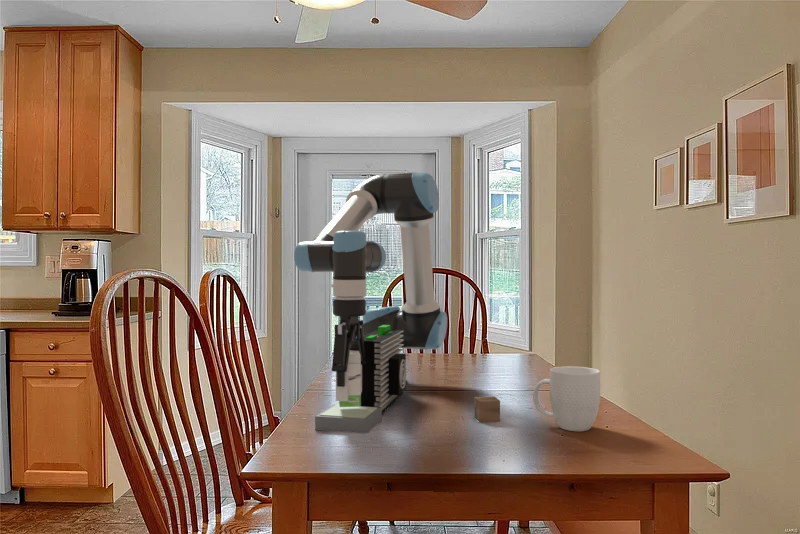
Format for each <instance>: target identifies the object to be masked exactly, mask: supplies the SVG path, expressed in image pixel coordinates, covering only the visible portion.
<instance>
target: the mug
mask: <svg viewBox="0 0 800 534" xmlns="http://www.w3.org/2000/svg"><path fill="white" fill-rule="evenodd" d="M544 384H545V385H548V386H549V398H550V400H549V401H550V406H551V411H547V410H546V409H544V408H543V407H541V405H540V403H539V399H538V394H539V390H540V388H541V386H542V385H544ZM532 393H533V394H532V398H533V400H532V401H533V403H534V406H535V408H536V409H537V411H538V412H539V413H540V414H542V415H544V416H545V417H546V416H547V417H549V418H553V419H555V422H556V424H557V426H558V427H559V428H560V429H562V430H564V431H569V432H586V431H589V430H590V429H591V428H592V426H593V425H594V424H595V422H596V419H597V415H598V413H599V407H600V402H601V371H600V370H599V369H597V368H591V367H586V366H577V365H576V366H574V365H573V366H572V365H571V366H570V365H567V366H565V365H563V366H554V367H551V368H550V369H549V378H544V379H541V380H540V381H538V382H537V384H536V385H535V386H534V389H533V392H532Z"/></svg>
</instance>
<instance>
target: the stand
mask: <svg viewBox="0 0 800 534" xmlns="http://www.w3.org/2000/svg"><path fill="white" fill-rule="evenodd" d="M382 415H383V414H382V408H379V407H362V406H360V407H340V405H339V404H333V405H331V406H329V407H328V408H326V409H324V410H322V412H319V413H318V414H317V415H315V416H314V422H315V423H314V428H315V429H314V430H315V431H329V432H342V433H356V434H357V433H358V434H368V433H369V432H370V431H371V430H373V428H375V427H376V426H377V425H379V423H381V421H382V418H383V417H382Z"/></svg>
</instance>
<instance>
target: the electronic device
mask: <svg viewBox="0 0 800 534" xmlns="http://www.w3.org/2000/svg"><path fill="white" fill-rule="evenodd" d="M402 332H403V330H396V331H390V325H382V326H379V327H378V331H373V332H371V333H369V334H366V335H364V336H363V338H364V351H365V360H366V363H365V364H361V365H362V392H361V406H362V407H379V408H382V415H384V414H385V412H387V410H389V409H390V408H391V407H392V405H394V403H395V402H397V401H398V399H400V398H401V397H402V396H403V395H404V391H405V390H406V388H407V383H406V382H407V361H406V360H407V354H406V353H402V351H404V348H400V347H402V346H403V344H399V343H401V342H402V341H403V339H399V338H401V337H403V335H398V334H400V333H402ZM398 348H399V349H398Z"/></svg>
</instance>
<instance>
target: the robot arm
mask: <svg viewBox="0 0 800 534" xmlns="http://www.w3.org/2000/svg"><path fill="white" fill-rule="evenodd" d="M439 195H440V194H439V189H438V185H437V183H436V180H435V179H434V177H433V176H432V175H431V174H430V173H428V172H419V171H418V172H417V171H415V172H412V171H411V172H401V173H381V174H378V175H374V176H371V177H369V178H367V179H366V180H364V181H362V182H361V183H359V184H358V185H357V186H355V187H354V188H353V189H352V190H351V191H350V192H349V193H348V195H347V196H346V199H345V203H344V205H343V206H342V207H341V208H340V209H339V210H338V211H337V213H336V214H334V216H333V217H332V218H331V220H330V221H329V222H328V223H327V224H326V225H325V226H324V227H323V229H322V230H321V231H320V232H319V233H318V234H317V235H316V237H314V239H313V240H312V241H308V240H306V241H300V242H299V243H297V244H296V246H295V248H294V250H293V251H294V252H293V258H294V259H293V260H294V263H295V266H296V269H298V270H299V271H300V272H301V271H302V272H311V273H315V272H317V273H321V272H322V273H326V272H327V273H329V272H330V273H333V276H332V279H333V282H332V283H331V286H330V287H331V288H332V289H333V290H332V296H333V297H334V298H335V299H333V300H332V314H333V315H334V316H335V317H340V319H339V324H335V325H334V326H333V327H334V340H333V352H332V364H331V372H335V401H336V402H339V401H348V386H349V371H347V366H348V359H349V353H350V350H353V351H359V353H360V355H361V364H365V363H366V360H365V351H364V338H363V336H364V335H366V334H369V333H371V332H373V331H378V327H379V326H382V325H390V331H396V330H403V332H402V333H400V334H398V335H403V337H401V338H399V339H403V341H402V342H401V343H399V344H403V346H402V347H400V348H398V349H411V350H416V349H417V350H426V351H428V350H437V349H440V348H441V347H442V345H443V343H444V341H445V339H446V336H447V329H448V315H447V313H446V311H443V310H441V305H440V303H439V302H438V301H436V300H435V289H434V288H435V287H434V276H433V262H432V249H431V248H432V247H431V246H432V245H431V234H430V233H431V232H430V223H431V222H432V220H433V219H434V218H435V217H434V215H435V214H434V213H436V212H438V210H439V208H440V196H439ZM380 214H393V218H394V222H395V223H396V224H398V225H399V227H400V228H399V229H400V240H401V252H402V253H401V254H402V263H403V277H404V289H405V300H406V302H405V303H404V305H403V306H401V307H402V308H400V306H399V305H394V306H393V305H391V306H382V307H375V308H370V309H369V308H368V309H367V302H366V299H364V298H365V297H366V296H367V273H374V272H377V271H379V270H381V269H382V268H383V267H384V265H385V264H386V260H387V253H386V250H385V249H384V246H382V245H381V244H380V243H378V242H375V241H373V240H367V236H366V233H365V232H364V231H361V230H360V229H361V228H362V227H363V225H364V224H365V223H366V221H369V220H371V219H372V218H374V216H376V215H380ZM359 317H362V319H359ZM340 364H341V365H340ZM361 392H362V365H361Z"/></svg>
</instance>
